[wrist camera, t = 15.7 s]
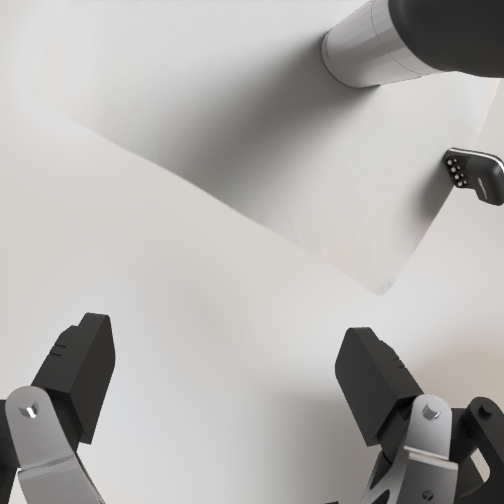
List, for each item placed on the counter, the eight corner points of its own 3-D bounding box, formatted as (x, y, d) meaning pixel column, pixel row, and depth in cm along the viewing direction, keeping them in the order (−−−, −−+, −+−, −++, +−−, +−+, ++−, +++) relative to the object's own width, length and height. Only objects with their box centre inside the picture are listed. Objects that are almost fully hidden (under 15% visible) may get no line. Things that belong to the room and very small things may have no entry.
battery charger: (436, 158, 39) (489, 171, 28) (450, 145, 38) (503, 155, 28) (453, 193, 41) (503, 213, 31) (466, 179, 41) (516, 196, 30)
